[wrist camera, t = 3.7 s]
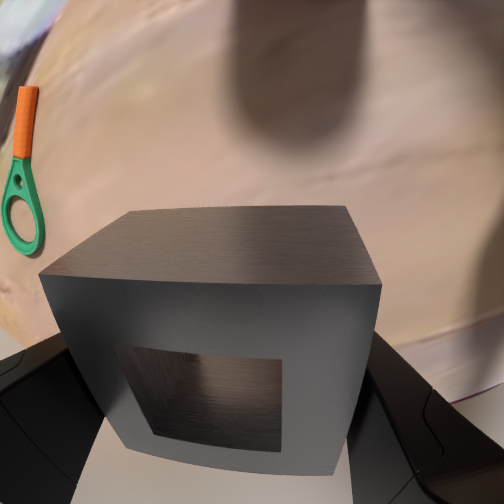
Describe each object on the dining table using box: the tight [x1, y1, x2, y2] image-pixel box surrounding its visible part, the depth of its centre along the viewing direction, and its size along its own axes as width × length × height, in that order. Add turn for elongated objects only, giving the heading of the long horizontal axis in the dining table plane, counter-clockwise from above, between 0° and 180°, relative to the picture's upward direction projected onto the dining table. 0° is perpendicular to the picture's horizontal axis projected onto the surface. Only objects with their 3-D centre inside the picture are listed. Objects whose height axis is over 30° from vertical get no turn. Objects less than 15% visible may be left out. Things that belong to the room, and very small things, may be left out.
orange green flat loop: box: [1, 86, 45, 255], centre depth 20 cm, size 15×6×2 cm, turn 164°
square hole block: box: [38, 205, 382, 476], centre depth 7 cm, size 6×6×4 cm
